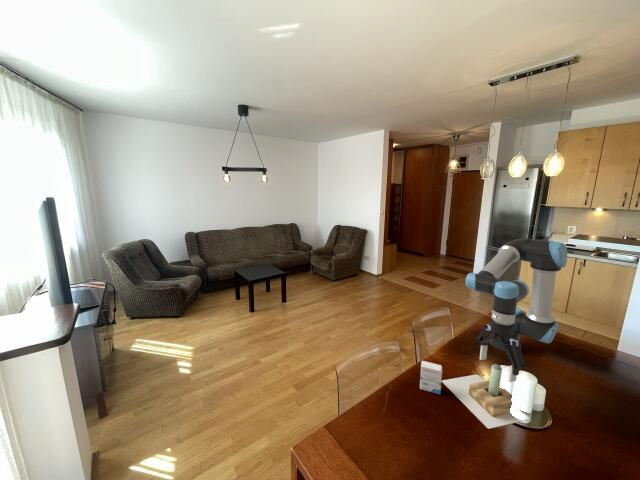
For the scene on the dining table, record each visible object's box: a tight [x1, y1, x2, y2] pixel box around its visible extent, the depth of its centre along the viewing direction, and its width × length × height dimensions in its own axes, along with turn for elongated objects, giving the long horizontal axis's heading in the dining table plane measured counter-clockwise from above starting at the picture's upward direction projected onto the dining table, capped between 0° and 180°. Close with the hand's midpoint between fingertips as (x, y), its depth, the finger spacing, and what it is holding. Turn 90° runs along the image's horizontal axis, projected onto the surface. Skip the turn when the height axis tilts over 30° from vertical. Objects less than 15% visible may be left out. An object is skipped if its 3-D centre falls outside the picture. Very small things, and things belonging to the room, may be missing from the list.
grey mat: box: [441, 373, 523, 429], centre depth 111 cm, size 26×20×1 cm
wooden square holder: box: [469, 379, 513, 417], centre depth 108 cm, size 12×12×5 cm
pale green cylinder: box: [488, 363, 503, 397], centre depth 107 cm, size 4×4×17 cm
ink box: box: [419, 360, 443, 395], centre depth 116 cm, size 9×5×12 cm, turn 65°
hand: (496, 369), depth 106 cm, fingers open, 13 cm apart
